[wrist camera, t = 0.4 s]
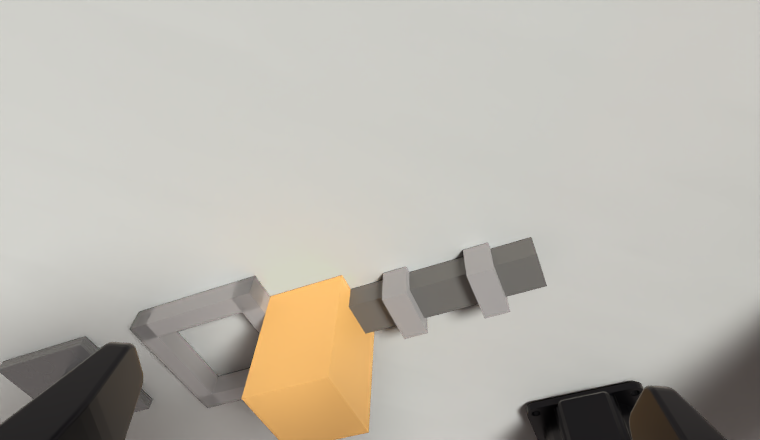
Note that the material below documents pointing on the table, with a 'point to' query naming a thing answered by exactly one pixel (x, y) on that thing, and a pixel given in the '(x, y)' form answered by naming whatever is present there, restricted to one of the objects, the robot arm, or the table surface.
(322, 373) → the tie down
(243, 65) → the table surface
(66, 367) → the keeper
